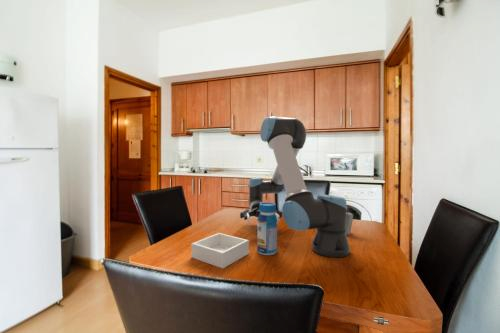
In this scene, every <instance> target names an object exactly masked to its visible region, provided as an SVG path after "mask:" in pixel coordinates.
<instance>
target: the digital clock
mask: <svg viewBox="0 0 500 333" xmlns="http://www.w3.org/2000/svg"><path fill="white" fill-rule="evenodd" d="M353 220H354V214H353V213H351V212H347V213H346V236H350V235H351V231H352V225H353Z"/></svg>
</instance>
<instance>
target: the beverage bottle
mask: <svg viewBox="0 0 500 333" xmlns="http://www.w3.org/2000/svg"><path fill="white" fill-rule="evenodd" d="M276 208H277V206H276V203H274V202H269V201H268V202H267V201H266V202H262V203H260V205H259V211H260V212H261V213H260V215H259V216H258V217H257V220H256V221H257V226H256V229H257V232H256V233H257V235H256V236H257V237H256V239H257V241H256V243H257V244H256V245H257V247H256V250H257V253H258V254H260V255H264V256H271V255H275V254H277V252H278V229H279V228H278V222H277V217H276V215H275V214H274V213H275V211H276Z"/></svg>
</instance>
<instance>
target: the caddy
mask: <svg viewBox="0 0 500 333" xmlns="http://www.w3.org/2000/svg"><path fill="white" fill-rule="evenodd" d="M190 246H191V251H190V252H191V253H190V254H191V259H195V260H198V261H201V262H203V263H206V264H210V265H213V266H214V267H217V268H220V269H224V268H226V267H228V266H229V265H231V264H233V263H236V262H237V261H239V260H240V259H242V258H244V257H245V256H247V255H249V254H250V240H249V239H245V238H241V237H237V236H234V235H230V234H229V235H228V234H227V233H226V234H225V233H221V232H217V233H214V234H213V235H210V236H207V237H205V238H202V239H200V240H197V241H194V242H191V245H190Z"/></svg>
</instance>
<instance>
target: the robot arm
mask: <svg viewBox="0 0 500 333" xmlns="http://www.w3.org/2000/svg"><path fill="white" fill-rule="evenodd" d="M259 131H260V133H259V134H260V139H261V141H262V142H264V143H265V142H267V146H268V148H269V149H271V150H273V151H272V152H273V154H274V157H275V160H276V163H277V164H276V168H275V170H274V173H273V175H272V178H271V180H263V178H262V177H250V178H249V183H248V184H249V186H248V188H249V189H248V190H249V194H248V195H249V196H248V198H249V199H248V208H246V209H243V211H241V212H240V214H239V216H240V217H239V218H240V219H243V220H244V221H247V223H249V224H250V218H251V217H255V218H258V216H259V215H260V213H261V212H260V211H259V205H260V203H263V195H266V194H267V195H268V194H280V193H281V194H282V193H285V194H286V196H285V198H284V203H283V204H282V211H280V210H276V211H275V213H274V214H275V215H276V217H277V223H280V220H281V218H283V220H284V222H285V224H286V225H287V227H288V228H290V230H293V231H295V232H296V231H304V232H305V231H307V230H313V229H316V231H315V234H314V236H313V240H312V242H311V249H312V251H313V252H315V253H316V254H318V255H320V256H325V257H331V258H342V257H343V258H344V257H347V256H349V255H350V254H349V253H351V247H350V244H349V243H350V242H349V240H348V235H346V213H348V212H347V211H348V210H347V209H348V207H347V200H346V199H345V198H344V197H341V196H337V195H330V194H317V196H316V198H314V197H315V196H314V195H313V192H312V191H310V190H309V189H307V185H306V182H305V180H304V177H303V175H302V174H303V173H302V171H301V167H300V165H299V163H298V161H297V160H298V159H297V155H298V154H299V151H300V150H301V149H303V148H304V145H305V143H306V141H307V130H306V127H305V125H304V123H303V122H302V121H301V120H299V119H298V118H295V117H285V116H284V117H283V116H282V117H280V116H274V115H273V116H267V117H265V118H264V119H263V121H262V123H261V126H260V130H259Z"/></svg>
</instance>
